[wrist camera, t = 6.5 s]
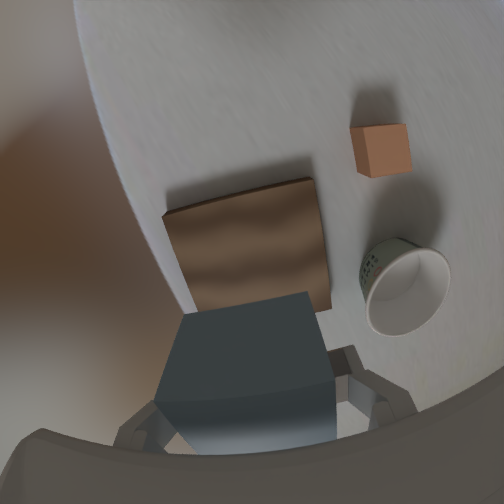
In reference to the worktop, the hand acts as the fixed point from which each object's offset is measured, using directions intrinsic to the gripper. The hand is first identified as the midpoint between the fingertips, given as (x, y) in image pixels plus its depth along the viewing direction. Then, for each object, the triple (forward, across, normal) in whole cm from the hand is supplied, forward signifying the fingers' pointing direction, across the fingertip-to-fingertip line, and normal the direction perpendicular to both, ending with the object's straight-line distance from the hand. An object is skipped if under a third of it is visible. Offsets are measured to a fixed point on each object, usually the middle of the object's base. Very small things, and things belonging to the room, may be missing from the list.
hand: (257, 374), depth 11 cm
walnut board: (+21, +1, +4) cm, 21 cm away
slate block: (+2, 0, 0) cm, 2 cm away
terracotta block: (+21, -15, -7) cm, 26 cm away
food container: (+21, -16, +9) cm, 28 cm away
